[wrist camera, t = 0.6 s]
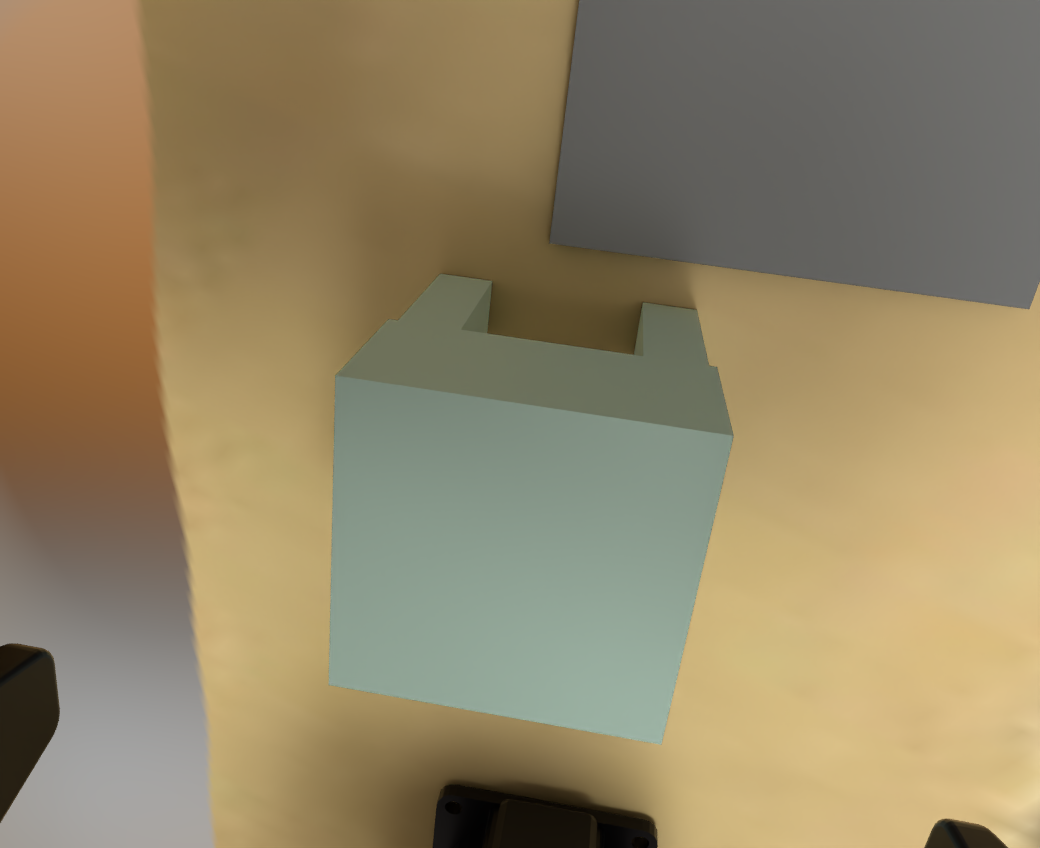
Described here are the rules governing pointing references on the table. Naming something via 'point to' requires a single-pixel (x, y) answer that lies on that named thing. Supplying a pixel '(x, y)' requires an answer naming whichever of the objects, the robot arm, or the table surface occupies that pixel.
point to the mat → (811, 140)
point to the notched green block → (522, 514)
